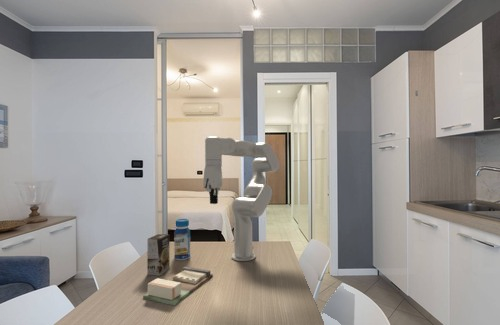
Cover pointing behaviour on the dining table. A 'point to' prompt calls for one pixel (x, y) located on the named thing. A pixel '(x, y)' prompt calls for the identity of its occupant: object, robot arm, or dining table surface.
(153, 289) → the stub
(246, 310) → the dining table surface
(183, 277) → the board
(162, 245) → the coffee box
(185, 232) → the beverage bottle
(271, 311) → the dining table surface
